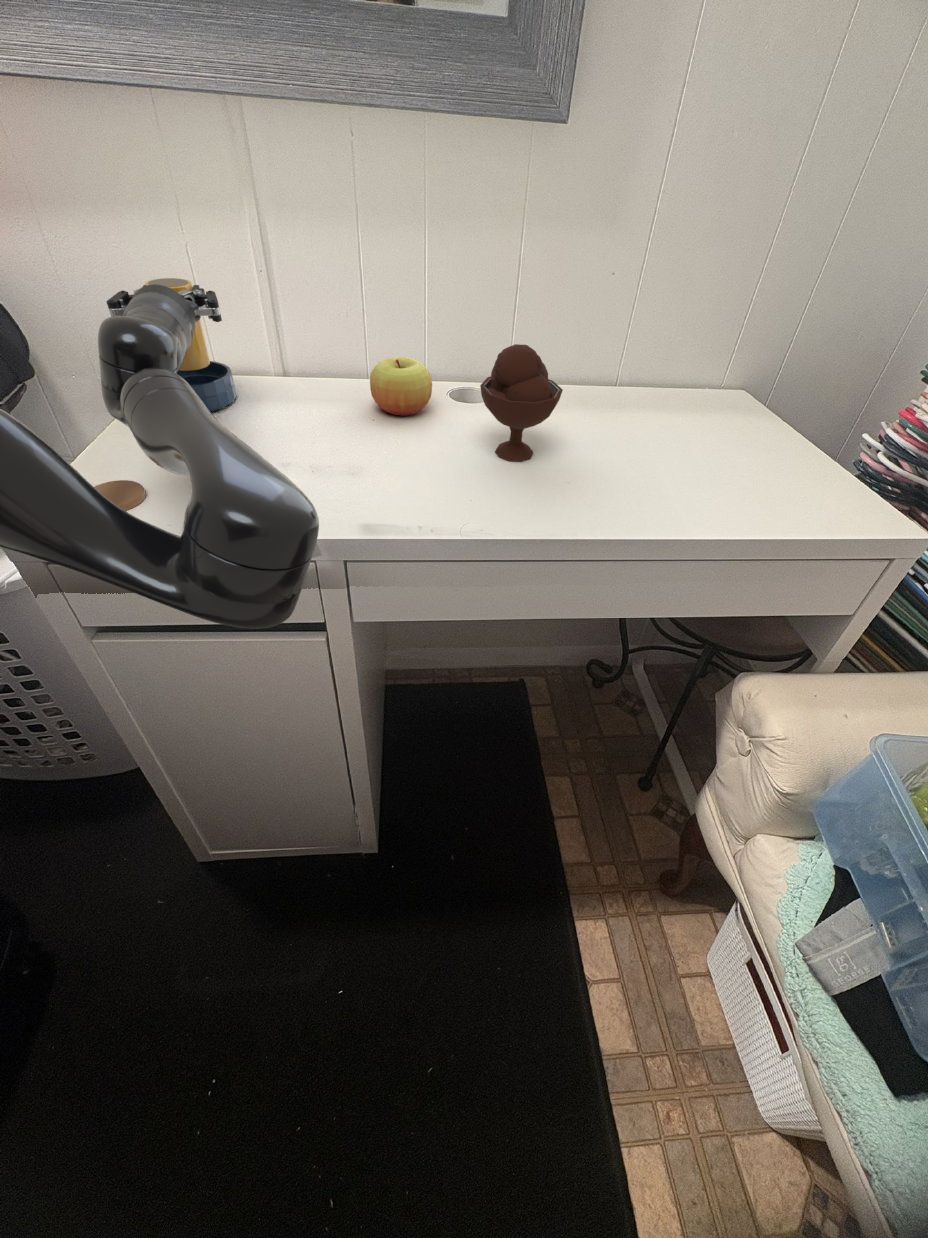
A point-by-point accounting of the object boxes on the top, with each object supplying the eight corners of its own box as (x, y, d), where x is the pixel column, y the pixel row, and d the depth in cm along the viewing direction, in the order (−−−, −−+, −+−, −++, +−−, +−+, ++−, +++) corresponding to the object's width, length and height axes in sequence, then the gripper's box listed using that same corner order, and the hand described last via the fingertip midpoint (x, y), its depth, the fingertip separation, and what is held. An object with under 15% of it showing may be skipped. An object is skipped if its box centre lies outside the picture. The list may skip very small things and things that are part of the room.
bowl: (163, 420, 85) (154, 389, 82) (158, 392, 93) (149, 364, 90) (242, 410, 89) (235, 381, 86) (231, 384, 97) (225, 357, 94)
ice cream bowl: (555, 472, 79) (575, 359, 69) (475, 468, 78) (483, 354, 68) (549, 439, 86) (565, 333, 76) (476, 435, 86) (482, 328, 76)
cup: (169, 372, 84) (146, 288, 77) (166, 359, 88) (144, 278, 81) (212, 368, 86) (193, 286, 79) (207, 356, 90) (189, 276, 83)
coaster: (84, 518, 65) (81, 512, 65) (85, 491, 69) (82, 485, 69) (147, 507, 67) (145, 501, 67) (144, 482, 72) (142, 476, 71)
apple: (366, 419, 89) (362, 366, 83) (376, 396, 96) (373, 346, 90) (429, 423, 89) (429, 370, 83) (434, 399, 96) (434, 349, 90)
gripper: (213, 292, 70) (220, 263, 82) (83, 292, 67) (109, 262, 78) (227, 356, 75) (231, 320, 87) (106, 359, 72) (128, 321, 84)
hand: (173, 292), depth 83 cm, fingers closed on cup, 6 cm apart
